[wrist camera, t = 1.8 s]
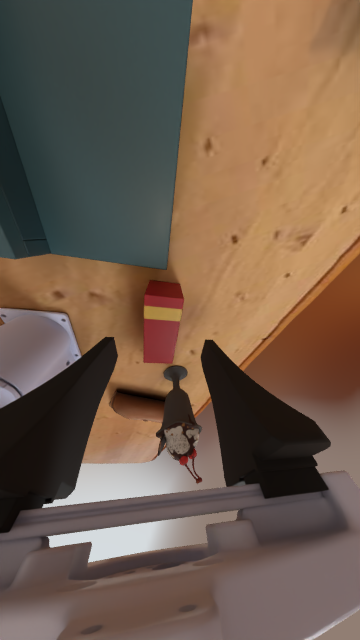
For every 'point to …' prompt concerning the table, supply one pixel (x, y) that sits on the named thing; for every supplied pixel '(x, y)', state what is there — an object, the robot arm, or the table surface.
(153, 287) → the candy bar
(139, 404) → the sunglasses case
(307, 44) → the table surface
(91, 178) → the shelf rack
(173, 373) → the sundae
